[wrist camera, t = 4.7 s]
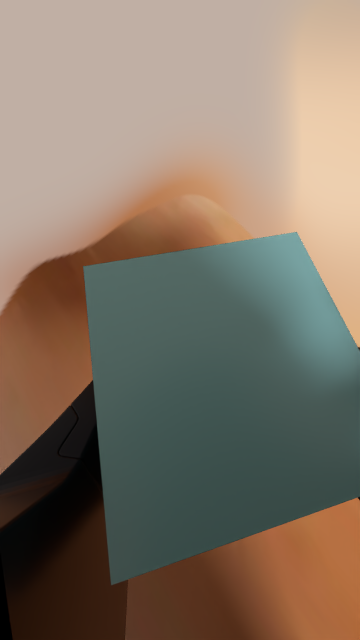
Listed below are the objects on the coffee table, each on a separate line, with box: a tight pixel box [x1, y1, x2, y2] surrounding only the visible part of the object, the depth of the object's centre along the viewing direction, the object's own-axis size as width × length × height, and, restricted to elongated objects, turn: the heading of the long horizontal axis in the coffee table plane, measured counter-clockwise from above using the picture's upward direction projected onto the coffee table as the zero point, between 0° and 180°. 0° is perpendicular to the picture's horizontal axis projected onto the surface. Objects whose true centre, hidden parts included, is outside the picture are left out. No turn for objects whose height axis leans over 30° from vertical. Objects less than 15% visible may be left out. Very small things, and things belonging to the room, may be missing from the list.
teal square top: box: [83, 232, 360, 585], centre depth 8 cm, size 5×5×9 cm
